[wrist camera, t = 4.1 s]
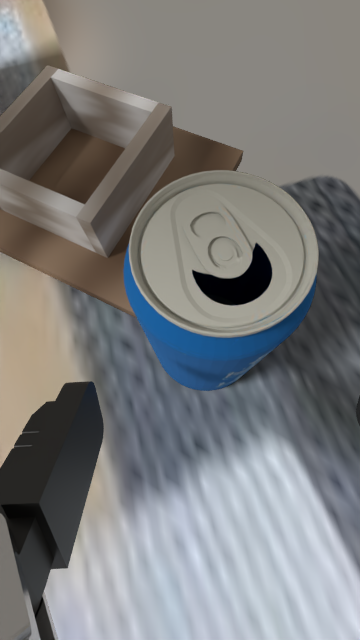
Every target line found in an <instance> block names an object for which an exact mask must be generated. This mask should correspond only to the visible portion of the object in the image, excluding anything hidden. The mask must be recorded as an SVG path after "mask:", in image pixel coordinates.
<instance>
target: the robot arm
mask: <svg viewBox="0 0 360 640" xmlns="http://www.w3.org/2000/svg"><path fill="white" fill-rule="evenodd" d="M356 414H357V420H358V423H359V425H360V397H359V401H358V404H357V409H356ZM103 429H104V428H103V418H102V414H101V410H100V405H99V401H98V397H97V393H96V388H95V385H94V383H93V382H73V383H65V384H64V386H63V387H62V389H61V391H60V393H59V395H58V397H57V399H56V401H51V402H46V403H45V404H44V405H43V406H42V407H40V408H39V409H38V410H37V411H36V412H35V413H34V414H33V415H32V416H31V417H30V419H29V421H28V423H27V424H26V426H25V428H24V429H23V431H22V435H20V436H19V438H18V439H17V441H16V443H15V445H14V449H12V450H11V451H10V453H9V455H8V456H7V458H6V460H5V461H4V463H3V465H2V466H1V468H0V640H58V637H57V634H56V630H55V627H54V623H53V620H52V617H51V613H50V610H49V606H48V603H47V599H46V596H45V593H44V589H45V585H46V582H47V579H48V576H49V573H50V570H51V569H60V568H68V564H69V561H70V557H71V553H72V550H73V546H74V542H75V539H76V535H77V531H78V528H79V524H80V520H81V517H82V513H83V510H84V506H85V502H86V499H87V495H88V491H89V488H90V484H91V480H92V477H93V473H94V469H95V466H96V462H97V459H98V455H99V451H100V448H101V444H102V440H103Z"/></svg>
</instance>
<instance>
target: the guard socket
mask: <svg viewBox="0 0 360 640" xmlns="http://www.w3.org/2000/svg"><path fill="white" fill-rule="evenodd" d="M242 154H243V151H242V150H239V149H236V148H233V147H230V146H227V145H225V144H222V143H219V142H216V141H213V140H210V139H208V138H205V137H202V136H199V135H196V134H193V133H190V132H188V131H185V130H182V129H179V128H176V127H173V124H172V107H170V106H167V105H164V104H161V103H158V102H156V101H153V100H149V99H147V98H143V97H141V96H138V95H135V94H132V93H129V92H126V91H123V90H120V89H117V88H114V87H111V86H108V85H105V84H102V83H99V82H96V81H93V80H90V79H87V78H84V77H81V76H78V75H76V74H73V73H70V72H67V71H64V70H61V69H58V68H55V67H52V66H49V65H47V66H46V67H45V68H44V69H43V70H42V71H41V73H40V74H39V75H38V76H37V77H36V78H35V79H34V80H33V81H32V82H31V83H30V84H29V86H28V87H27V88H26V89H25V90H24V91H23V92H22V93H21V94H20V95H19V96H18V98H17V99H16V100H15V101H14V102H13V103H12V104H11V105H10V106H9V107H8V108H7V109H6V111H5V112H4V113H3V114H2V115H1V116H0V252H2V253H4V254H6V255H8V256H10V257H12V258H14V259H16V260H18V261H21V262H23V263H25V264H27V265H29V266H31V267H33V268H35V269H37V270H39V271H41V272H43V273H45V274H47V275H49V276H51V277H53V278H55V279H58V280H60V281H62V282H64V283H66V284H68V285H70V286H72V287H74V288H76V289H78V290H80V291H82V292H84V293H86V294H88V295H90V296H93V297H95V298H97V299H99V300H101V301H103V302H105V303H107V304H109V305H111V306H113V307H115V308H117V309H119V310H121V311H123V312H125V313H128V314H130V315H132V316H134V317H136V315H135V313H134V311H133V309H132V307H131V306H130V303H129V300H128V297H127V295H126V290H125V285H124V273H123V270H124V259H125V255H126V251H127V247H128V244H129V241H130V236H131V231H132V228H133V225H134V223H135V220H136V218H137V216H138V215H139V213H140V211H141V209H142V208H143V207H144V206H145V204H146V203H147V202H148V201H149V200H150V199H151V198H152V197H153V196H154V195H155V194H156V193H157V192H158V191H159V190H161V189H162V188H163V187H165V186H167V185H168V184H170V183H172V182H173V181H176V180H178V179H180V178H182V177H185V176H188V175H191V174H194V173H199V172H204V171H213V170H229V171H236V170H237V168H238V166H239V164H240V162H241V160H242ZM136 318H137V317H136Z"/></svg>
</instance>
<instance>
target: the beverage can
mask: <svg viewBox="0 0 360 640" xmlns="http://www.w3.org/2000/svg"><path fill="white" fill-rule="evenodd" d="M318 256H319V250H318V243H317V238H316V235H315V231H314V228H313V226H312V224H311V222H310V220H309V218H308V216H307V215H306V213H305V212H304V210H303V209H302V208H301V206H300V205H299V204H298V203H297V202H296V201H295V200H294V199H293V198H292V197H291V196H290V195H289V194H288V193H286V192H285V191H284V190H282V189H281V188H280V187H278V186H276V185H275V184H273V183H271V182H269V181H267V180H265V179H262V178H260V177H257V176H254V175H251V174H248V173H243V172H238V171H229V170H213V171H204V172H199V173H194V174H191V175H188V176H185V177H182V178H180V179H178V180H176V181H173V182H172V183H170V184H168V185H167V186H165V187H163V188H162V189H161V190H159V191H158V192H157V193H156V194H155V195H154V196H153V197H152V198H151V199H150V200H149V201H148V202H147V203H146V204H145V206H144V207H143V208H142V209H141V211H140V213H139V215H138V216H137V218H136V220H135V223H134V225H133V228H132V231H131V236H130V241H129V244H128V247H127V251H126V255H125V259H124V270H123V273H124V285H125V290H126V295H127V297H128V300H129V303H130V306H131V307H132V309H133V311H134V313H135V315H136V317H137V319H138V321H139V323H140V325H141V326H142V328H143V330H144V332H145V334H146V336H147V338H148V340H149V342H150V344H151V345H152V347H153V349H154V351H155V353H156V355H157V357H158V359H159V361H160V363H161V364H162V366H163V368H164V369H165V371H166V372H167V373H168V374H169V375H170V376H171V377H172V378H173V379H174V380H175V381H177V382H178V383H180V384H182V385H184V386H186V387H188V388H192V389H195V390H202V391H210V390H217V389H221V388H224V387H226V386H229V385H230V384H232V383H234V382H235V381H236V380H238V379H239V378H240V377H241V376H243V375H244V374H245V373H246V372H247V371H249V370H250V369H251V368H252V367H253V366H254V365H256V364H257V363H258V362H259V361H260V360H262V359H263V358H264V357H265V356H266V355H268V354H269V353H270V352H271V351H272V350H273V349H275V348H276V347H277V346H278V345H279V344H281V343H282V342H283V341H284V340H285V339H286V338H288V337H289V336H290V335H291V334H292V333H293V332H294V331H295V330H296V329H297V328H298V326H299V325H300V323H301V322H302V321H303V319H304V318H305V316H306V314H307V312H308V310H309V308H310V306H311V303H312V300H313V297H314V293H315V287H316V274H317V267H318Z"/></svg>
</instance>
